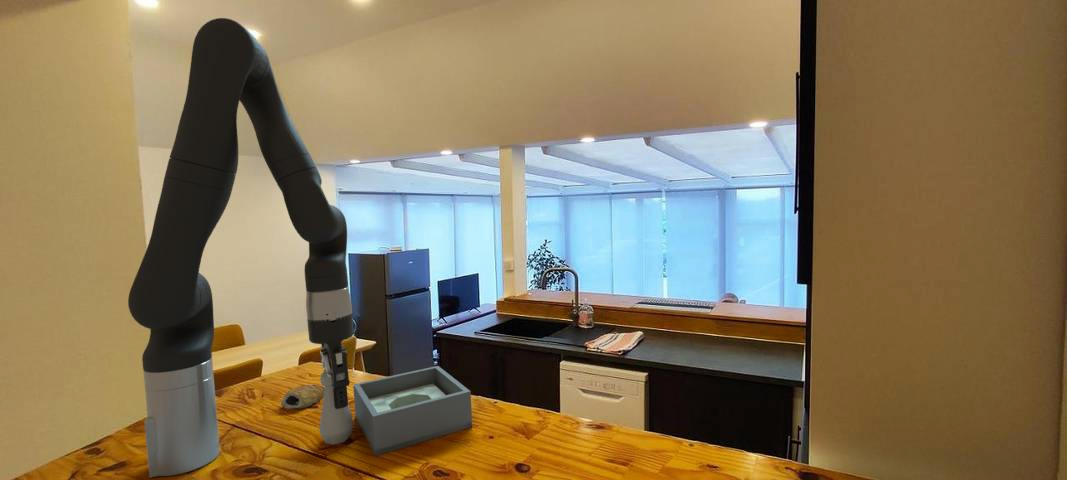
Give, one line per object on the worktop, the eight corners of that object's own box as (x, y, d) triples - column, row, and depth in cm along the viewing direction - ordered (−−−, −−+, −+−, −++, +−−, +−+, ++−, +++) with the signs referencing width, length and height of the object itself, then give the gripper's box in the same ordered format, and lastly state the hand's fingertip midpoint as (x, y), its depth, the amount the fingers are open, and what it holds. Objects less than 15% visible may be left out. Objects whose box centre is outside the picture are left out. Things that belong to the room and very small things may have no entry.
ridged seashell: (308, 392, 108) (307, 376, 108) (333, 394, 106) (332, 378, 106) (278, 409, 99) (277, 392, 98) (305, 411, 97) (304, 394, 97)
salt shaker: (359, 431, 87) (355, 365, 86) (344, 447, 81) (340, 376, 80) (330, 431, 87) (326, 365, 86) (313, 446, 81) (308, 376, 81)
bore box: (375, 456, 77) (372, 416, 77) (355, 417, 93) (353, 384, 92) (472, 426, 87) (470, 391, 86) (439, 396, 102) (438, 365, 102)
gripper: (303, 310, 87) (310, 392, 88) (311, 324, 75) (320, 419, 76) (344, 304, 91) (351, 383, 92) (359, 316, 79) (366, 407, 80)
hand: (337, 399), depth 84 cm, fingers open, 8 cm apart
